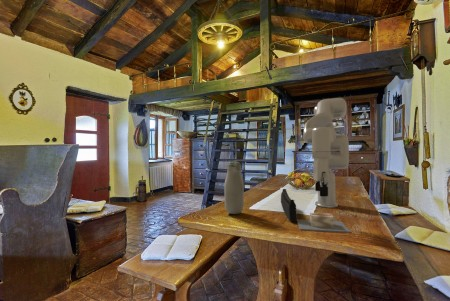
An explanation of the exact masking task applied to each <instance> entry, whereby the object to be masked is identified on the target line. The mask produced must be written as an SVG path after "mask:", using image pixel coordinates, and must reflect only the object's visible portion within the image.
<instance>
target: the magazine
mask: <svg viewBox="0 0 450 301" xmlns="http://www.w3.org/2000/svg"><path fill="white" fill-rule="evenodd" d="M281 191H282V192H281V193H280V194H281V195H280V204H281V208H282V210H283V213H284V215H285V216H286V218H287V219H288V221H290V222H297V219H298V215H297V205H296V203H295V200H294V199H292V198H291V197H290V196H289V194H288V191H287V188H282V190H281Z"/></svg>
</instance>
